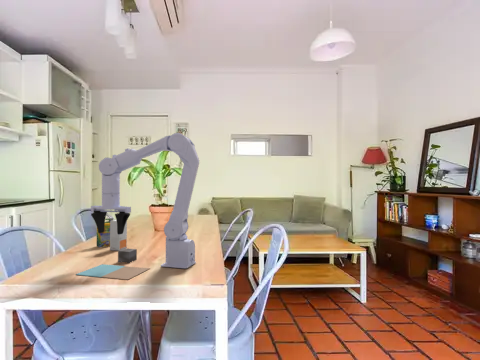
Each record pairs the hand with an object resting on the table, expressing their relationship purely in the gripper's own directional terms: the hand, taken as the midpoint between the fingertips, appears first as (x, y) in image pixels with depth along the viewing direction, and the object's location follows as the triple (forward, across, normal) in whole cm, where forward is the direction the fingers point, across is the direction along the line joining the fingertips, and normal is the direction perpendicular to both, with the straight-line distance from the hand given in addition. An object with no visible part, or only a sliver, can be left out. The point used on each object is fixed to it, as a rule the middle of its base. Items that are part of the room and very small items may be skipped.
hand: (110, 233), depth 112 cm
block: (+11, -3, -5) cm, 12 cm away
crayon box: (+11, +21, -25) cm, 34 cm away
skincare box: (+11, +12, -21) cm, 26 cm away
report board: (+10, -7, +8) cm, 15 cm away
